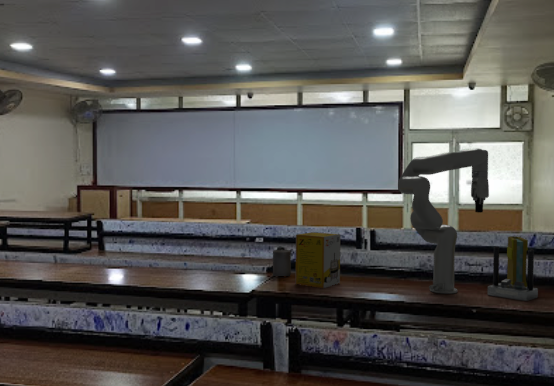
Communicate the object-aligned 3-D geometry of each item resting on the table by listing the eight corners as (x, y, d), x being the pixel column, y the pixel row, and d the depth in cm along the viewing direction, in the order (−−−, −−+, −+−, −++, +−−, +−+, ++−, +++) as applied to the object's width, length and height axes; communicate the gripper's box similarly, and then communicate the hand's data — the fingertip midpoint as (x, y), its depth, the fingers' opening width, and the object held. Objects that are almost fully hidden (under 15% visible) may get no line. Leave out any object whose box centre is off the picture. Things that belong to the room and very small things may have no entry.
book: (526, 293, 277) (527, 240, 277) (511, 292, 279) (512, 239, 278) (519, 286, 294) (520, 236, 293) (505, 286, 295) (506, 236, 294)
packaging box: (312, 279, 308) (313, 232, 307) (339, 283, 299) (340, 234, 298) (295, 284, 295) (295, 234, 294) (323, 288, 286) (324, 236, 285)
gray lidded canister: (284, 273, 326) (284, 246, 326) (294, 276, 318) (294, 248, 318) (269, 275, 321) (269, 248, 321) (279, 278, 313) (278, 249, 313)
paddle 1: (506, 285, 270) (506, 282, 269) (501, 285, 272) (501, 281, 271) (510, 282, 273) (510, 279, 272) (505, 282, 274) (505, 278, 274)
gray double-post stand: (526, 301, 259) (527, 251, 259) (487, 294, 272) (487, 247, 272) (538, 297, 268) (539, 249, 267) (498, 291, 281) (499, 245, 280)
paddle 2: (519, 285, 265) (520, 281, 266) (514, 284, 267) (514, 281, 267) (523, 286, 268) (524, 282, 269) (518, 285, 270) (518, 281, 270)
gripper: (479, 174, 281) (478, 213, 282) (494, 175, 292) (493, 212, 292) (465, 174, 287) (464, 212, 287) (479, 175, 297) (479, 211, 298)
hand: (479, 212), depth 290 cm, fingers closed
